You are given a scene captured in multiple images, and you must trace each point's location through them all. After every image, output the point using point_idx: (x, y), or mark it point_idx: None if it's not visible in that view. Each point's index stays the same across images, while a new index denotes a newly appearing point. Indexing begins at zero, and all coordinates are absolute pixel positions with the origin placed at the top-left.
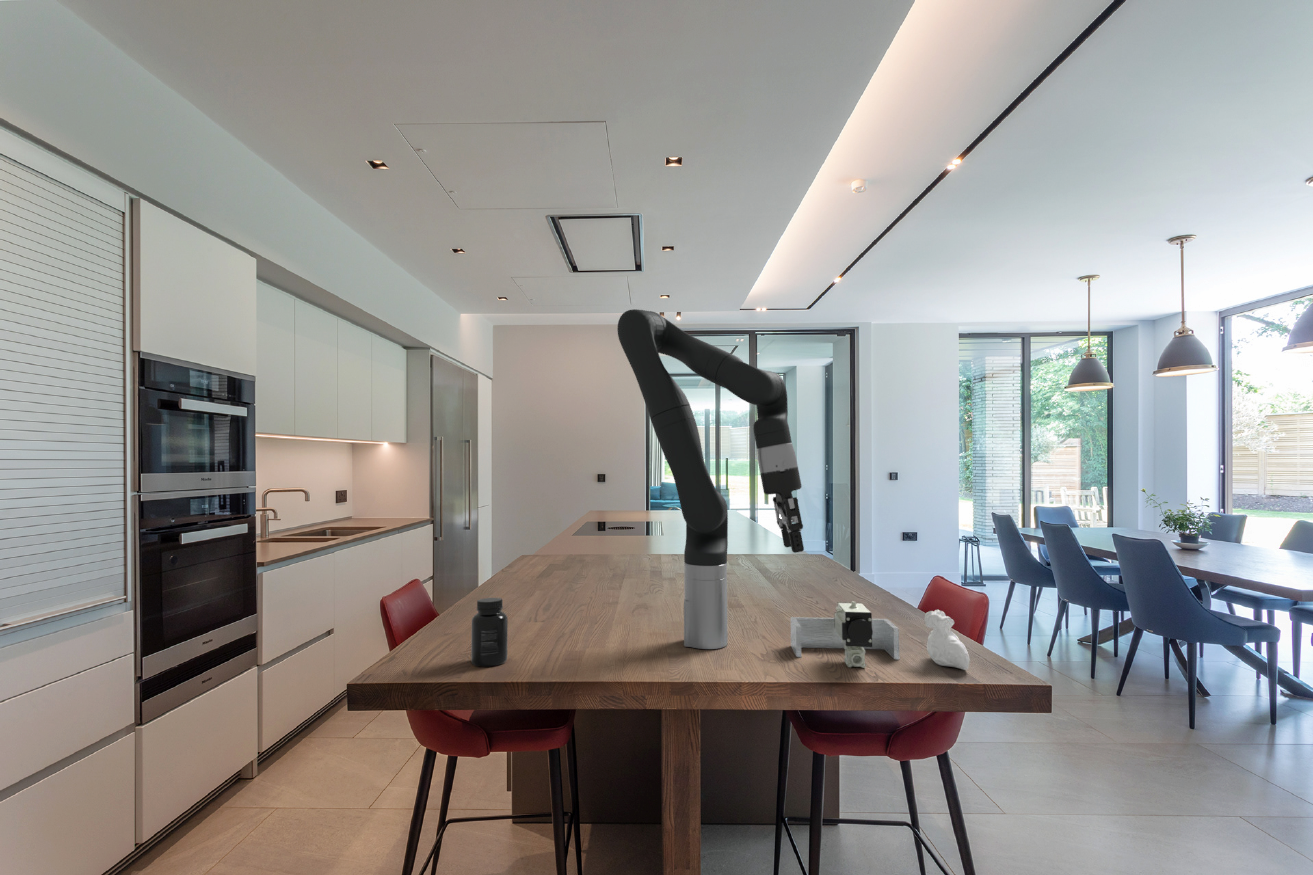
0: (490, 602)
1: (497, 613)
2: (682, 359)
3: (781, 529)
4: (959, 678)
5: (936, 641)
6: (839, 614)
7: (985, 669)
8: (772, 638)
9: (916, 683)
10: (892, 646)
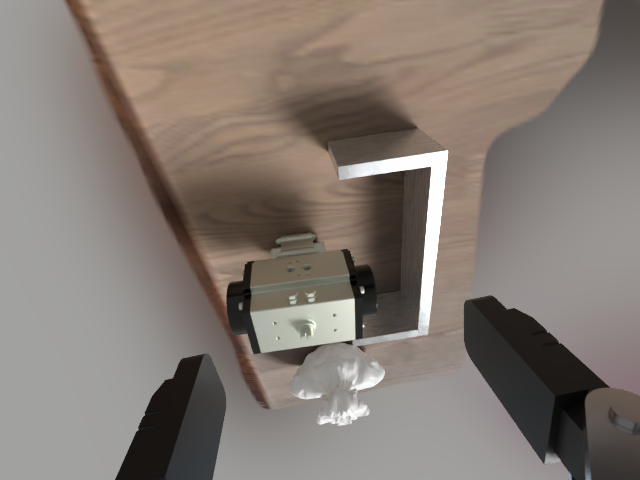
0: None
1: None
2: None
3: (578, 393)
4: (269, 357)
5: (321, 373)
6: (326, 284)
7: None
8: (484, 77)
9: (227, 316)
10: None
